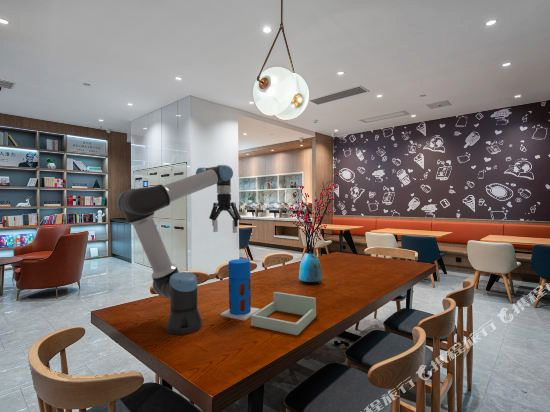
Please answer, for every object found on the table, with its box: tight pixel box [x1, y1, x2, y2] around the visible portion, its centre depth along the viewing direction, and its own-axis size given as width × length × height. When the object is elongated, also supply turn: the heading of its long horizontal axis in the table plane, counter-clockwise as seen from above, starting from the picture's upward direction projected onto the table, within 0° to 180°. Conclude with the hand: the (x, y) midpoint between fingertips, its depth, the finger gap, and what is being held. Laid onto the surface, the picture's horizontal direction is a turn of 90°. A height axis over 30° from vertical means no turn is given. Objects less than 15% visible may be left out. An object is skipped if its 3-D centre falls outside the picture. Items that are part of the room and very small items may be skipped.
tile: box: [220, 306, 261, 321], centre depth 148 cm, size 14×14×1 cm
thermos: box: [228, 258, 252, 315], centre depth 148 cm, size 11×11×25 cm
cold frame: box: [250, 291, 317, 336], centre depth 138 cm, size 22×22×9 cm
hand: (225, 232), depth 163 cm, fingers open, 13 cm apart
